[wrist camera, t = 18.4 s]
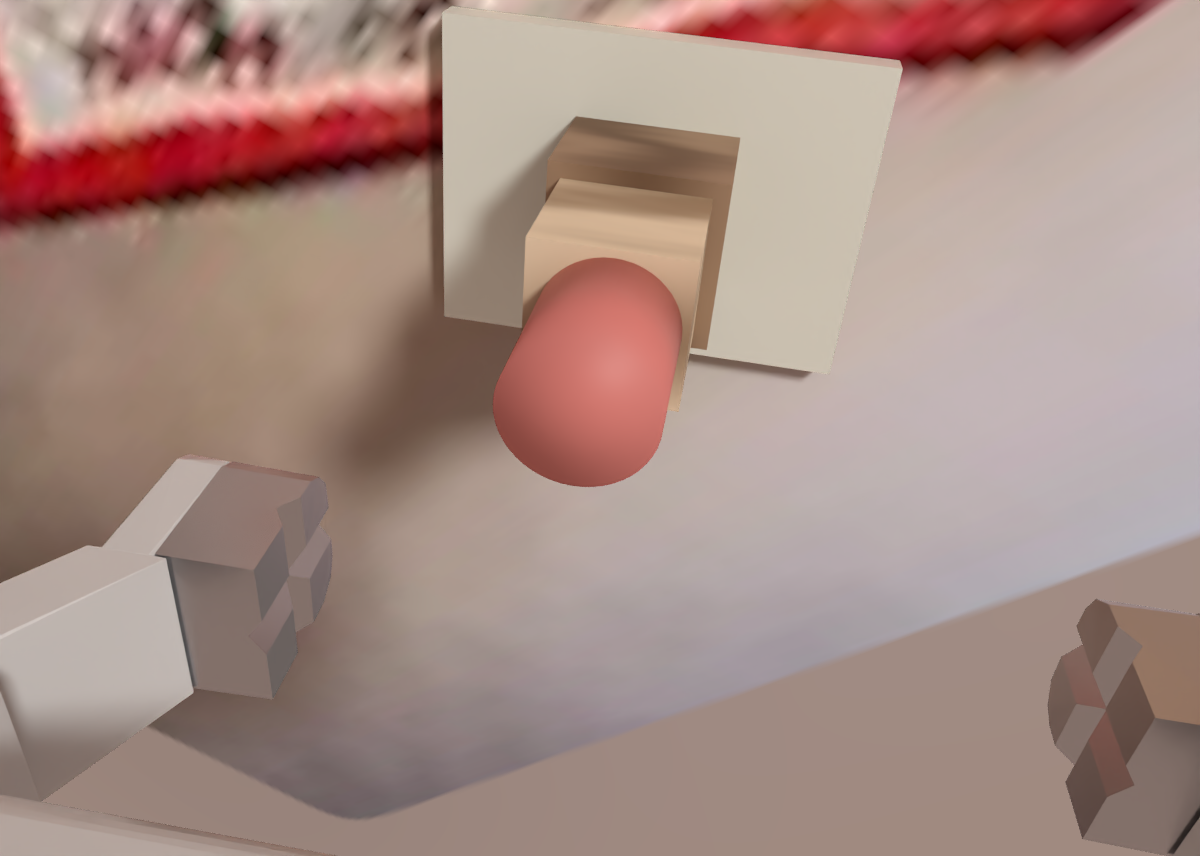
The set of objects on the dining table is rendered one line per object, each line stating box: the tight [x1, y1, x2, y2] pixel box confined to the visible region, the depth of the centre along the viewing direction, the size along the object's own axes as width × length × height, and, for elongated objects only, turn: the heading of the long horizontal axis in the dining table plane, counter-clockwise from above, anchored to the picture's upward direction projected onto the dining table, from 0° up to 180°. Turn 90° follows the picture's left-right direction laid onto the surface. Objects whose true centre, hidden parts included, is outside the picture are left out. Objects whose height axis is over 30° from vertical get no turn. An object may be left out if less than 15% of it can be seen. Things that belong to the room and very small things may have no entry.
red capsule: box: [493, 257, 683, 487], centre depth 28 cm, size 4×4×5 cm
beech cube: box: [522, 178, 713, 412], centre depth 32 cm, size 5×5×5 cm
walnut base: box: [545, 116, 740, 350], centre depth 36 cm, size 6×6×5 cm
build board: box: [442, 6, 903, 374], centre depth 38 cm, size 16×12×1 cm
